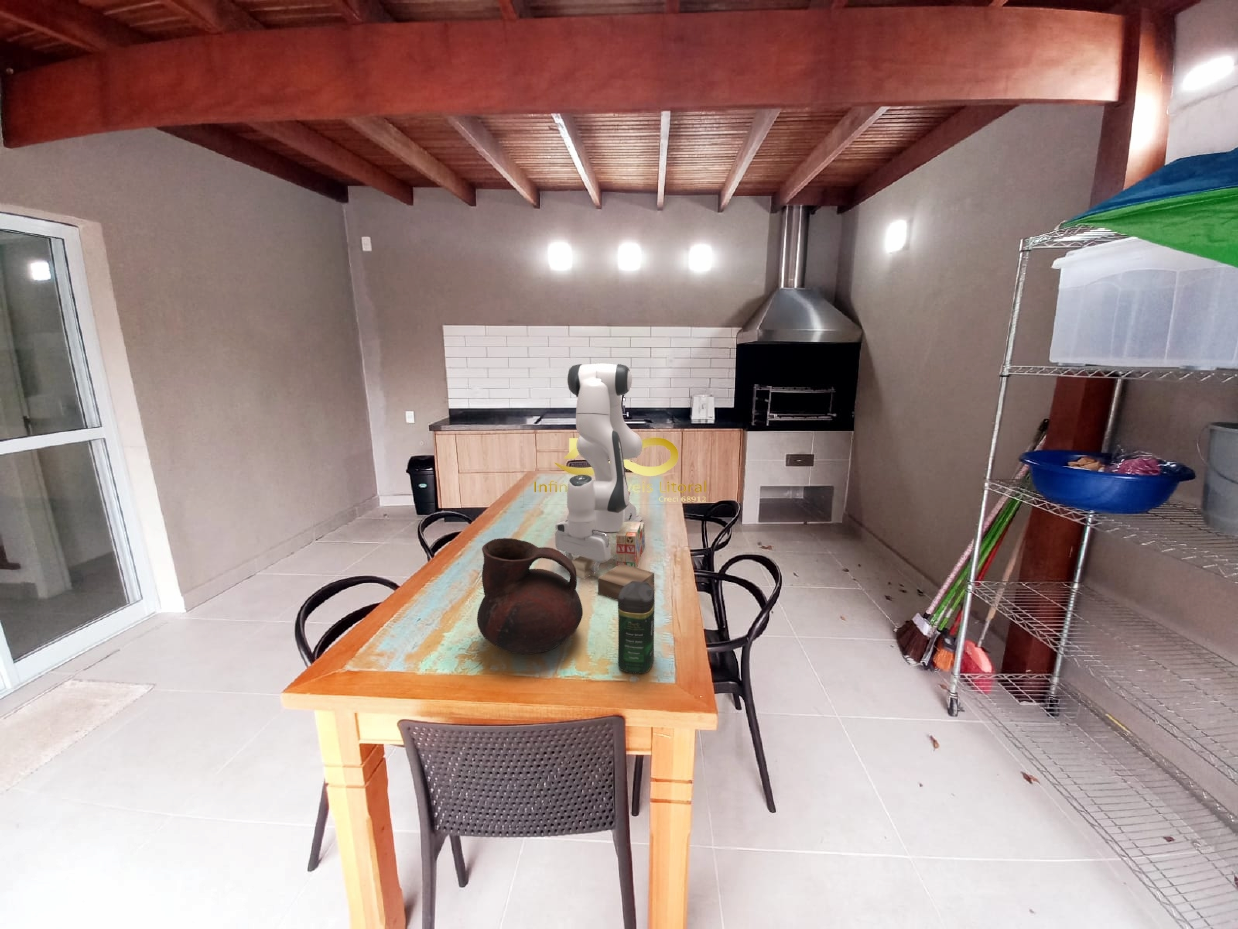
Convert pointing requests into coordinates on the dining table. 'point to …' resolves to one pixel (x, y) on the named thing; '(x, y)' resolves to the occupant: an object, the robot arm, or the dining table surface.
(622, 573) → the walnut block
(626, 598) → the coffee jar
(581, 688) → the dining table surface
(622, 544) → the stack of blocks
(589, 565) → the beige wooden cube
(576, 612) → the jug
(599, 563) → the robot arm
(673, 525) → the dining table surface
